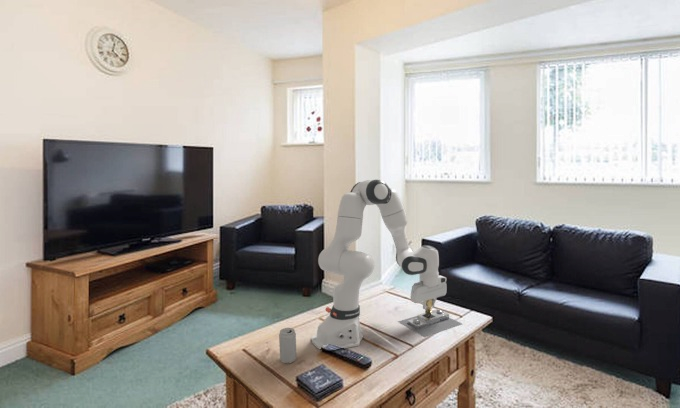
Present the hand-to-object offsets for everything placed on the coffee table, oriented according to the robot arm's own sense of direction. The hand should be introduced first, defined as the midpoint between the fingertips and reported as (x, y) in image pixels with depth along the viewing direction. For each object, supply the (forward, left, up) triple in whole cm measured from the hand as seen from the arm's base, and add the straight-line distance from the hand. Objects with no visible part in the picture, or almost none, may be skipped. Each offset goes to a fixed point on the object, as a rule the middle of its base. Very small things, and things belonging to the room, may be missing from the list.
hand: (428, 307), depth 172 cm
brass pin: (0, 0, -3) cm, 3 cm away
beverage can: (-70, +4, -7) cm, 71 cm away
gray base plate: (-1, -2, -7) cm, 7 cm away
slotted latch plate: (0, 0, -7) cm, 7 cm away
